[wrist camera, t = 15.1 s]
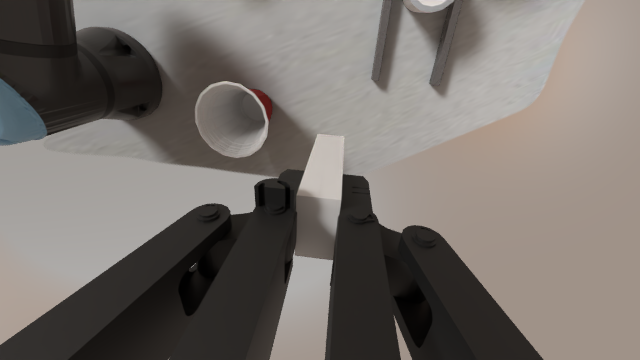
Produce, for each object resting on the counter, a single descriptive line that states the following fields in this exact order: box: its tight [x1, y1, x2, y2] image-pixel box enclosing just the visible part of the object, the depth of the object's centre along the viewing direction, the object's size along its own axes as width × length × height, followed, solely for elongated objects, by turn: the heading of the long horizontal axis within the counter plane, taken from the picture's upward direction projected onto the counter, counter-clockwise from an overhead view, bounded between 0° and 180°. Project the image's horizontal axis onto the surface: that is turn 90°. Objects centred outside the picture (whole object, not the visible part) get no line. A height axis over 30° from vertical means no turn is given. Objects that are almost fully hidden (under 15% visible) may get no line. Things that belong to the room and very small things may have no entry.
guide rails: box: [371, 0, 463, 86], centre depth 37 cm, size 10×18×2 cm, turn 176°
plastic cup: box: [195, 81, 272, 158], centre depth 41 cm, size 11×11×12 cm
